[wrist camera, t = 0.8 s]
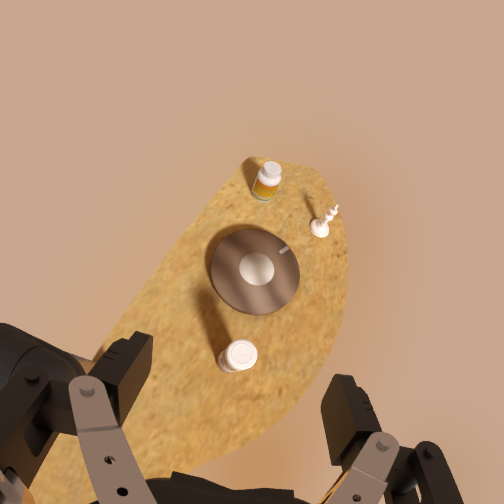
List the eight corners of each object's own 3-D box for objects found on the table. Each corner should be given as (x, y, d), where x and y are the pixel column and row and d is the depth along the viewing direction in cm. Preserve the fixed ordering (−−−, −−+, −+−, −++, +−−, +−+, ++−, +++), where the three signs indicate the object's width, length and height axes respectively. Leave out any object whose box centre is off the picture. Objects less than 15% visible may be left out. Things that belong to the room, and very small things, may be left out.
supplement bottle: (273, 203, 70) (286, 178, 62) (251, 201, 69) (261, 175, 60) (271, 186, 72) (283, 160, 64) (250, 183, 71) (260, 157, 63)
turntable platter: (248, 333, 54) (250, 332, 52) (192, 259, 58) (192, 256, 56) (313, 282, 61) (316, 279, 60) (260, 219, 65) (262, 215, 64)
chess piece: (307, 231, 69) (325, 208, 60) (312, 216, 71) (329, 192, 62) (325, 240, 69) (345, 218, 60) (330, 225, 71) (349, 202, 62)
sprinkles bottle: (211, 356, 52) (220, 347, 40) (233, 345, 53) (247, 332, 42) (224, 378, 50) (236, 375, 39) (245, 366, 52) (263, 359, 40)
